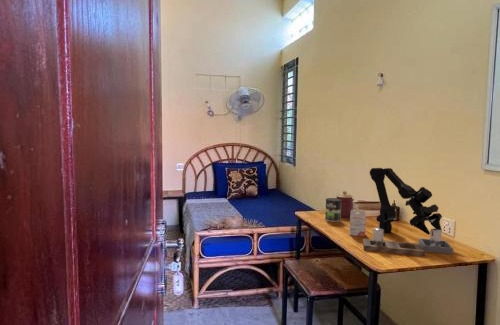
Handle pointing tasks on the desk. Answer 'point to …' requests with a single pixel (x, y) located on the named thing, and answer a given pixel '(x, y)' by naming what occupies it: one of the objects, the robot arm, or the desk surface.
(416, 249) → the divided tray
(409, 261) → the desk surface
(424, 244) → the tray
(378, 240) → the block
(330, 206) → the coffee can
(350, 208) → the canister
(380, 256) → the desk surface
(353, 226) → the ink cartridge box
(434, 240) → the loose billet
